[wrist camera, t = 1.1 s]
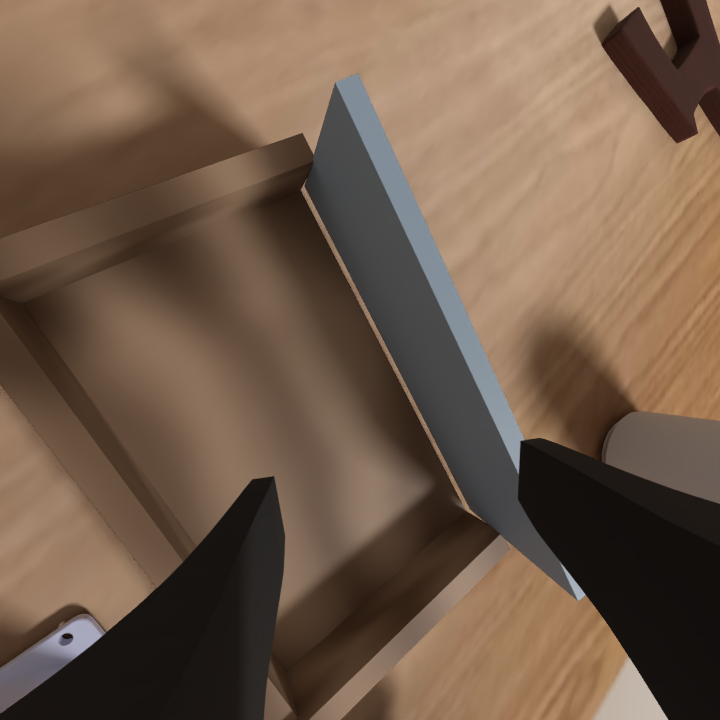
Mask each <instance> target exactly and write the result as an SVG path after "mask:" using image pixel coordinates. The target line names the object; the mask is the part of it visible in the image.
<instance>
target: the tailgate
mask: <svg viewBox="0 0 720 720" xmlns="http://www.w3.org/2000/svg"><path fill="white" fill-rule="evenodd" d="M313 161H314V162H313V165H312V169H311V171H310V173H309V175H308V177H307V180H306V183H305V188H306V190H307V192H308V194H309V196H310V198H311V200H312V202H313V204H314V206H315V208H316V210H317V212H318V214H319V215H320V217H321V219H322V221H323V223H324V225H325V227H326V229H327V231H328V233H329V235H330V237H331V239H332V241H333V243H334V245H335V247H336V249H337V251H338V253H339V254H340V256H341V258H342V260H343V262H344V264H345V266H346V268H347V270H348V272H349V274H350V276H351V278H352V280H353V282H354V284H355V286H356V288H357V290H358V292H359V293H360V295H361V297H362V299H363V301H364V303H365V305H366V307H367V309H368V311H369V313H370V315H371V317H372V319H373V321H374V323H375V325H376V327H377V329H378V331H379V333H380V334H381V336H382V338H383V340H384V342H385V344H386V346H387V348H388V350H389V352H390V354H391V356H392V358H393V360H394V362H395V364H396V366H397V368H398V370H399V372H400V373H401V375H402V377H403V379H404V381H405V383H406V385H407V387H408V389H409V391H410V393H411V395H412V397H413V399H414V401H415V403H416V405H417V407H418V409H419V411H420V412H421V414H422V416H423V418H424V420H425V422H426V424H427V426H428V428H429V430H430V432H431V434H432V436H433V438H434V440H435V442H436V444H437V446H438V448H439V450H440V452H441V453H442V455H443V457H444V459H445V461H446V463H447V465H448V467H449V469H450V471H451V473H452V475H453V477H454V479H455V481H456V483H457V485H458V487H459V489H460V491H461V492H462V494H463V496H464V498H465V500H466V502H467V504H468V506H469V508H470V510H472V511H473V512H474V513H475V514H476V515H477V516H479V517H480V518H481V519H482V520H483V521H485V522H486V523H487V524H488V525H490V526H491V527H493V528H494V529H495V530H496V531H497V532H498V533H500V534H501V536H502V537H503V538H505V539H506V540H507V541H508V542H509V543H510V544H512V545H513V546H514V547H515V548H516V549H517V550H519V551H520V552H521V553H522V554H523V555H524V556H526V557H527V558H528V559H529V560H530V561H532V562H533V563H534V564H535V565H536V566H537V567H539V568H540V569H541V570H542V571H543V572H544V573H546V574H547V575H548V576H549V577H550V578H552V579H553V580H554V581H555V582H556V583H557V584H559V585H560V586H561V587H562V588H563V589H564V590H566V591H567V592H568V593H569V594H570V595H572V596H573V597H574V598H575V599H576V600H577V601H579V600H580V599H581V598H583V597H584V596H585V595H586V594H585V593H584V592H583V591H582V589H581V588H580V587H579V585H578V584H577V583H576V582H575V580H574V579H573V578H572V577H571V575H570V574H569V573H568V571H567V570H566V569H565V568H564V566H563V565H562V564H561V562H560V561H559V560H558V559H557V557H556V556H555V555H554V553H553V552H552V551H551V550H550V548H549V547H548V546H547V544H546V543H545V542H544V540H543V539H542V538H541V536H540V535H539V534H538V532H537V531H536V529H535V528H534V526H533V525H532V523H531V521H530V520H529V518H528V516H527V515H526V513H525V511H524V509H523V508H522V506H521V504H520V502H519V501H518V481H519V460H520V441H522V440H524V438H523V435H522V433H521V431H520V429H519V427H518V424H517V422H516V420H515V418H514V416H513V413H512V411H511V409H510V407H509V405H508V402H507V400H506V398H505V396H504V394H503V391H502V389H501V387H500V385H499V383H498V380H497V378H496V376H495V374H494V372H493V369H492V367H491V365H490V363H489V361H488V358H487V356H486V354H485V352H484V350H483V347H482V345H481V343H480V341H479V339H478V336H477V334H476V332H475V330H474V328H473V325H472V323H471V321H470V319H469V317H468V314H467V312H466V310H465V308H464V306H463V303H462V301H461V299H460V297H459V295H458V292H457V290H456V288H455V286H454V283H453V281H452V279H451V277H450V275H449V272H448V270H447V268H446V266H445V264H444V261H443V259H442V257H441V255H440V253H439V250H438V248H437V246H436V244H435V242H434V239H433V237H432V235H431V233H430V231H429V228H428V226H427V224H426V222H425V220H424V217H423V215H422V213H421V211H420V209H419V206H418V204H417V202H416V200H415V198H414V195H413V193H412V191H411V189H410V187H409V184H408V182H407V180H406V178H405V176H404V173H403V171H402V169H401V167H400V165H399V162H398V160H397V158H396V156H395V154H394V151H393V149H392V147H391V145H390V143H389V140H388V138H387V136H386V134H385V132H384V129H383V127H382V125H381V123H380V121H379V118H378V116H377V114H376V112H375V110H374V107H373V105H372V103H371V101H370V99H369V96H368V94H367V92H366V90H365V88H364V85H363V83H362V81H361V79H360V77H359V74H358V73H357V74H355V75H353V76H350V77H348V78H345V79H343V80H340V81H338V82H335V85H334V88H333V92H332V95H331V99H330V102H329V105H328V109H327V112H326V115H325V119H324V122H323V126H322V129H321V132H320V136H319V139H318V142H317V146H316V149H315V153H314V156H313Z"/></svg>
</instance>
